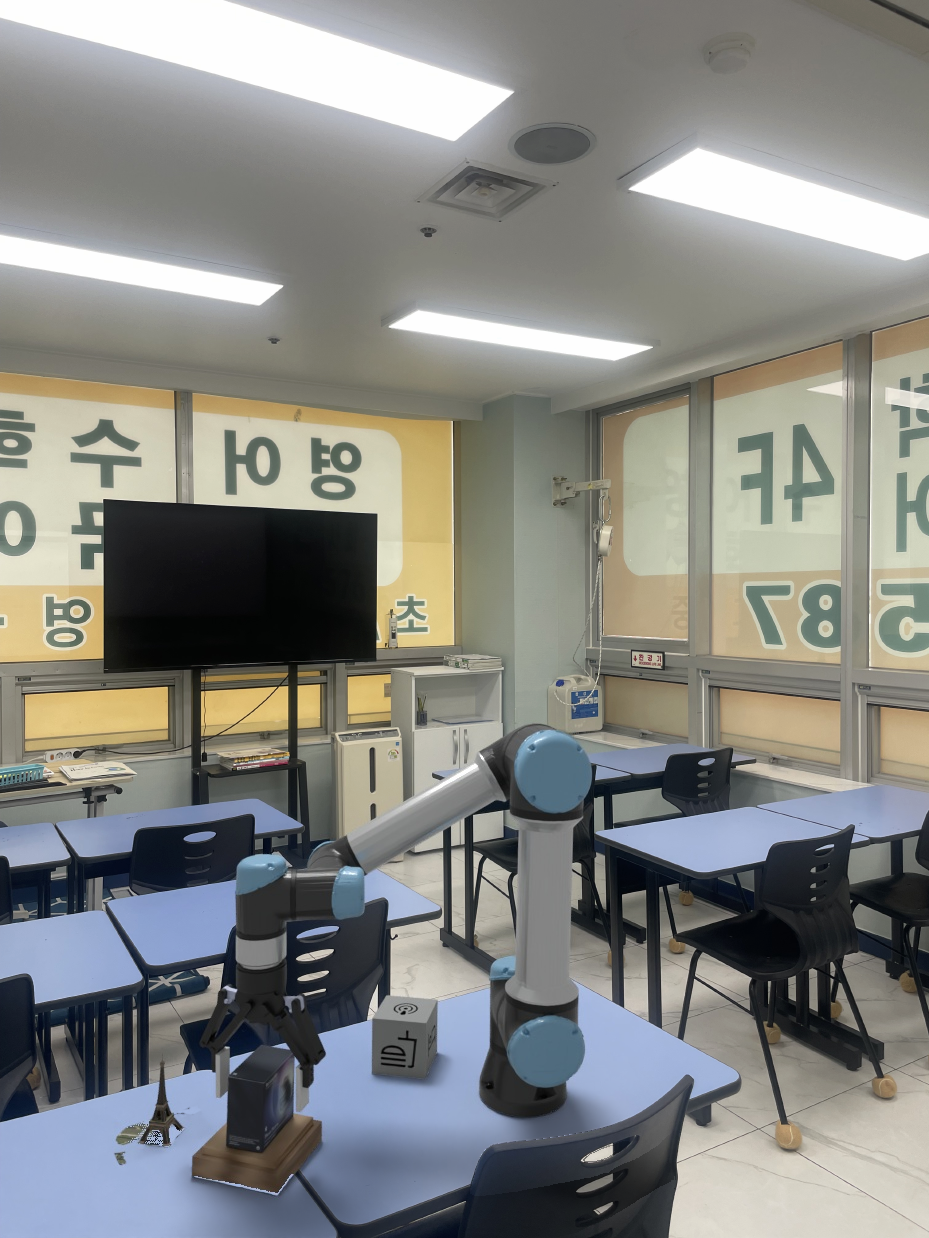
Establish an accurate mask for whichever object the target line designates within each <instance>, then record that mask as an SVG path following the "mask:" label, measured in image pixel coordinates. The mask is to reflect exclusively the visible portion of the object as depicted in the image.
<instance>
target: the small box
mask: <svg viewBox="0 0 929 1238" xmlns="http://www.w3.org/2000/svg"><path fill="white" fill-rule="evenodd" d="M295 1059H296V1058H295V1056H294V1055H293V1053H292V1052H291V1050H290V1049H288V1048H283V1047H282V1048H281V1047H275V1046H271V1045H265V1044H260V1045H259V1046H258V1047H257V1048H256V1049H255V1050H254V1051H253V1052H251V1054H249V1056H247V1057H246V1058H245V1059H244V1060H243V1061H242V1062H241V1063H240V1064H239V1065H238V1066H237V1067H236V1068H235V1069H234V1070H233V1071H232V1072H230V1075H229V1076H228V1091H227V1093H226V1094H227V1095H226V1096H227V1100H226V1101H227V1103H226V1104H227V1105H226V1123H227V1129H226V1146H227V1147H233V1148H238V1149H243V1150H248V1151H253V1152H259V1153H262V1152H263V1151H264V1150H265V1149H266V1148H267V1146H268V1145H269V1144H270V1143H271V1142H272V1140H273V1139H274V1138H275V1137H276V1136H277V1134H278V1133H279V1132H280V1131H281V1130H282V1129H283V1127H284V1126H285V1125H286V1124H287V1123H288V1121H289V1120H290V1119H291V1118H292V1117H293V1113H294V1106H295V1105H294V1101H295V1065H296V1064H295Z"/></svg>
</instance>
